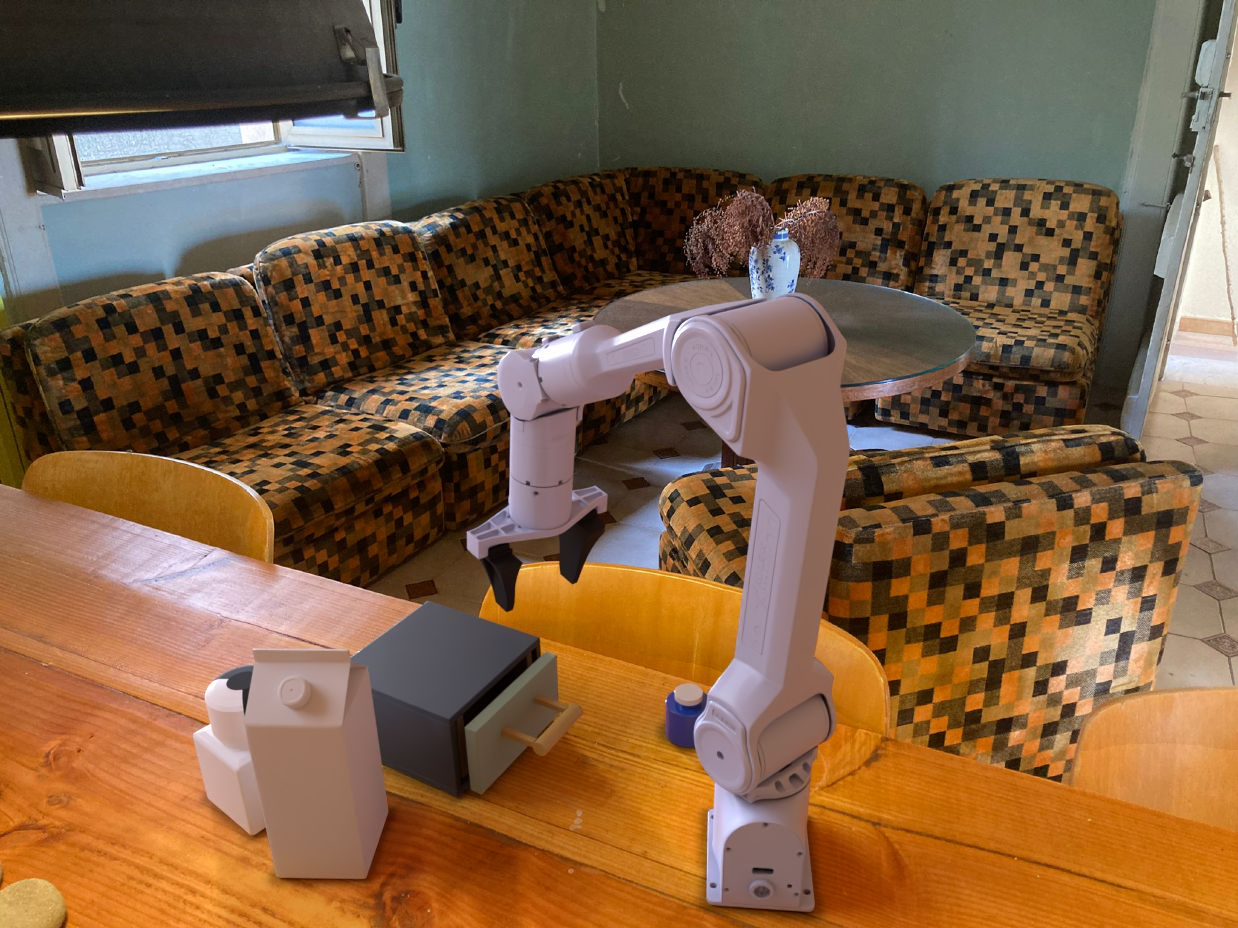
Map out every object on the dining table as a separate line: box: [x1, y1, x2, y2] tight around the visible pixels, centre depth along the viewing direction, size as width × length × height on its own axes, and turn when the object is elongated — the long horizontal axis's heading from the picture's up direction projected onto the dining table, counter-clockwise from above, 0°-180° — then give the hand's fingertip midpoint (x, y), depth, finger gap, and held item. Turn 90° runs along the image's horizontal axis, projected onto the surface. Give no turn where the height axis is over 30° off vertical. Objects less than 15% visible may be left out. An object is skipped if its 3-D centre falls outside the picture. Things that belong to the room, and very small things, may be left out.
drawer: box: [455, 651, 584, 795], centre depth 87 cm, size 17×12×7 cm
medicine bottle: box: [192, 664, 266, 836], centre depth 81 cm, size 7×7×12 cm
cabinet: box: [350, 600, 542, 798], centre depth 89 cm, size 13×13×8 cm
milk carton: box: [244, 647, 389, 880], centre depth 74 cm, size 7×7×19 cm
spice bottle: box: [664, 682, 708, 749], centre depth 89 cm, size 4×4×5 cm
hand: (537, 591), depth 94 cm, fingers open, 7 cm apart
